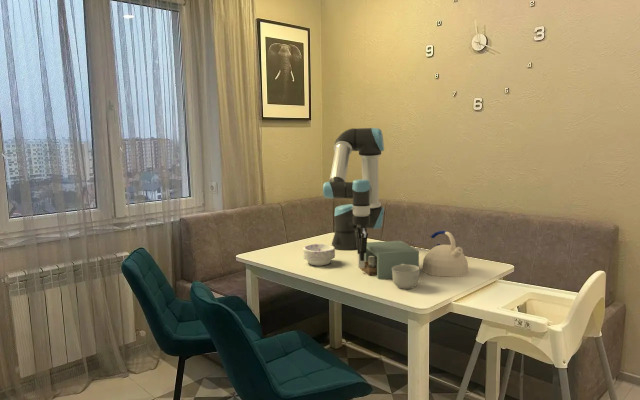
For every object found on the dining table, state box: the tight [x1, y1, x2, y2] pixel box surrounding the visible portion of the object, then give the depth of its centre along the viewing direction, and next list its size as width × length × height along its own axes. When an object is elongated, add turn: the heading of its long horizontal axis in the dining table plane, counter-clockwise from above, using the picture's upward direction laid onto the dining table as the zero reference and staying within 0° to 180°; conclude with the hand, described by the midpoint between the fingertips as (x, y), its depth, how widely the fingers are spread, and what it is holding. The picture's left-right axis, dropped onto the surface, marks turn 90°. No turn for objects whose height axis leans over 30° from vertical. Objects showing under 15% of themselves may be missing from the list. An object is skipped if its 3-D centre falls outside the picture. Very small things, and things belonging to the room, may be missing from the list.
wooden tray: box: [359, 256, 377, 276], centre depth 216 cm, size 12×16×7 cm
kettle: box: [421, 230, 469, 278], centre depth 214 cm, size 20×21×18 cm
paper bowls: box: [302, 243, 336, 267], centre depth 230 cm, size 15×15×8 cm
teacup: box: [392, 264, 420, 290], centre depth 194 cm, size 14×11×8 cm
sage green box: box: [365, 240, 420, 280], centre depth 215 cm, size 22×18×11 cm
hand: (361, 267), depth 213 cm, fingers closed
